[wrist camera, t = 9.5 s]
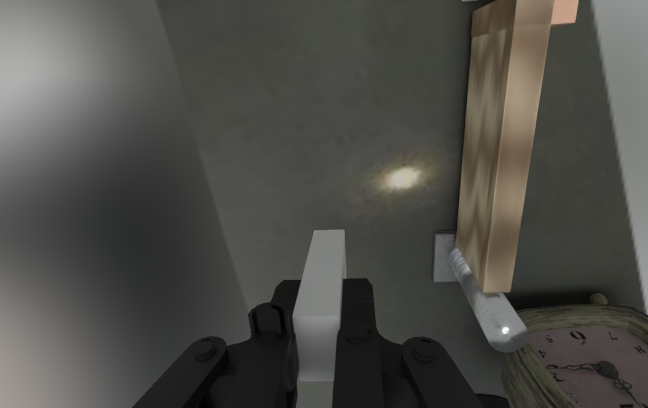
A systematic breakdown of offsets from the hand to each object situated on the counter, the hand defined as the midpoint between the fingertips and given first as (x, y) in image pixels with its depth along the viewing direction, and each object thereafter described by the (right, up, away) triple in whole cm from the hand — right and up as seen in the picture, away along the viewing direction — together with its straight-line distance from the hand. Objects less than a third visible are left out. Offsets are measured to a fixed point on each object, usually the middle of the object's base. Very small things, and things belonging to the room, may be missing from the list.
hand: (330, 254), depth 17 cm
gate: (+14, +9, +15) cm, 22 cm away
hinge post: (+15, -3, +21) cm, 26 cm away
